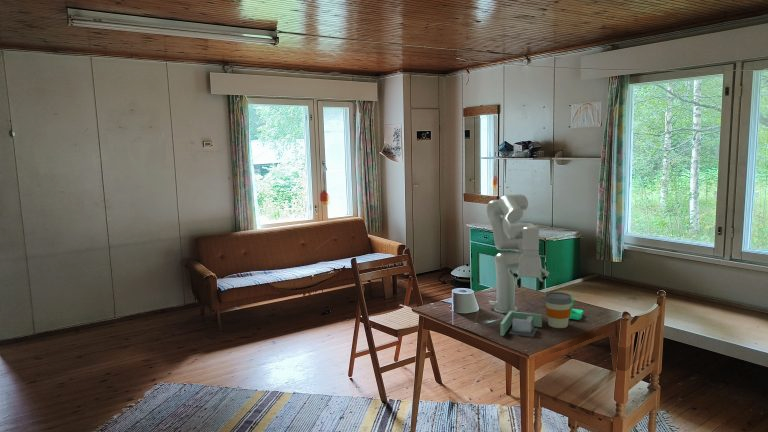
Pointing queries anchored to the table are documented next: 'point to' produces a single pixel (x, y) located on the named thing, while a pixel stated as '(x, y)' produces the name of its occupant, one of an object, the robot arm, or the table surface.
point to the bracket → (523, 325)
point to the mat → (524, 333)
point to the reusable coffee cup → (558, 309)
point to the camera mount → (575, 313)
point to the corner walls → (518, 315)
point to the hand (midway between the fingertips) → (529, 288)
